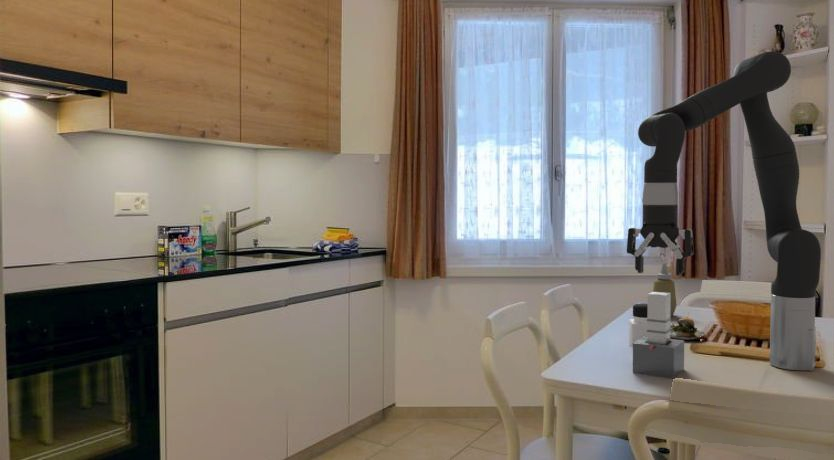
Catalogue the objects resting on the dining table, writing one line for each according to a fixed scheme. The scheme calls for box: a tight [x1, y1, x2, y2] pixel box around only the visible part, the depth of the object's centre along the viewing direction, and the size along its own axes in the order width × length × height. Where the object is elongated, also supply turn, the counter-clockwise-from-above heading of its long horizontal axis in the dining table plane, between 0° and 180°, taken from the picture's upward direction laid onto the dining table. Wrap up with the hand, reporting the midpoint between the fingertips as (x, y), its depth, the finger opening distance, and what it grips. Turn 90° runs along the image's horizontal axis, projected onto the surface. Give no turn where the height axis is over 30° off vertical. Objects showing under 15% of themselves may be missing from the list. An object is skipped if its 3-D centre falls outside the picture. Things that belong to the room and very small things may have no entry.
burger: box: [670, 313, 707, 341], centre depth 187 cm, size 12×12×8 cm
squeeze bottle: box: [652, 262, 678, 317], centre depth 220 cm, size 8×8×18 cm
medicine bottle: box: [628, 302, 648, 348], centre depth 176 cm, size 7×7×12 cm
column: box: [647, 291, 672, 345], centre depth 148 cm, size 4×4×18 cm
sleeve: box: [632, 336, 685, 380], centre depth 148 cm, size 16×16×8 cm
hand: (659, 273), depth 147 cm, fingers open, 8 cm apart
